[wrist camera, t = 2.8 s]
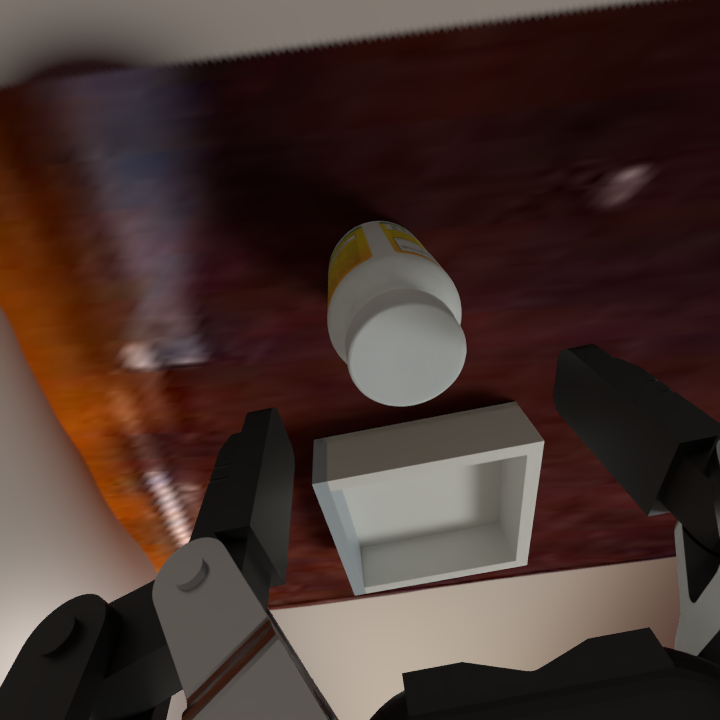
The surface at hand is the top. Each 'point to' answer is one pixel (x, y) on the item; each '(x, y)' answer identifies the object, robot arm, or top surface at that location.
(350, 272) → the supplement bottle
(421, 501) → the box
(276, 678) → the robot arm
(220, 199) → the top surface
